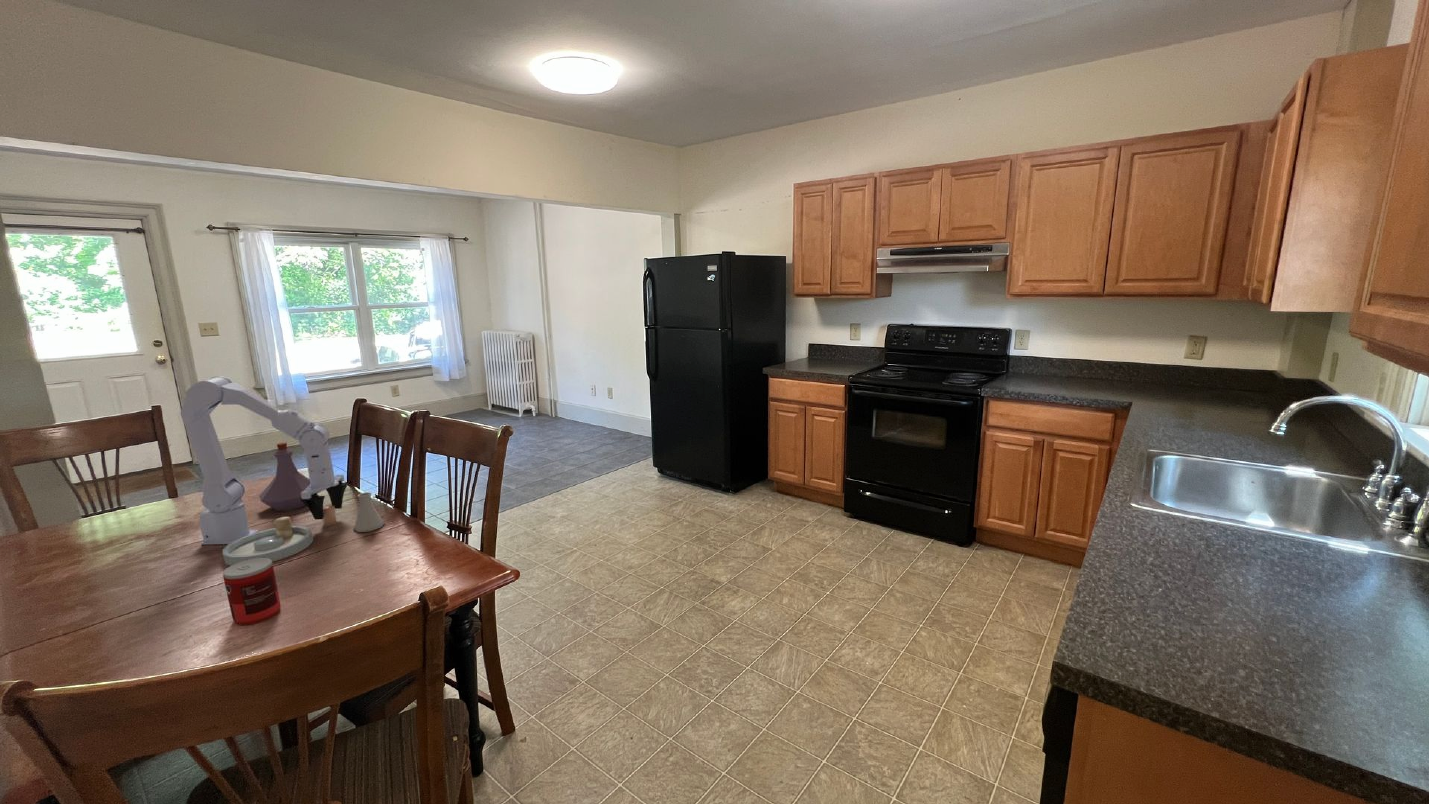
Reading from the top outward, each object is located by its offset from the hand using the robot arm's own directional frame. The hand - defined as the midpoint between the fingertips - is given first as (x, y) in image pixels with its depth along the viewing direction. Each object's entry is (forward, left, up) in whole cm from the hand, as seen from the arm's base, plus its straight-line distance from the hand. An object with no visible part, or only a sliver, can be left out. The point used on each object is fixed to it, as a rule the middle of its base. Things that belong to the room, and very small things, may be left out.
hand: (328, 513), depth 160 cm
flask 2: (+13, -3, -3) cm, 14 cm away
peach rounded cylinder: (0, 0, -3) cm, 3 cm away
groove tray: (-5, -16, -3) cm, 17 cm away
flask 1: (-23, +15, -3) cm, 27 cm away
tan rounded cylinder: (-5, -11, -2) cm, 12 cm away
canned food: (+17, -46, -3) cm, 49 cm away
